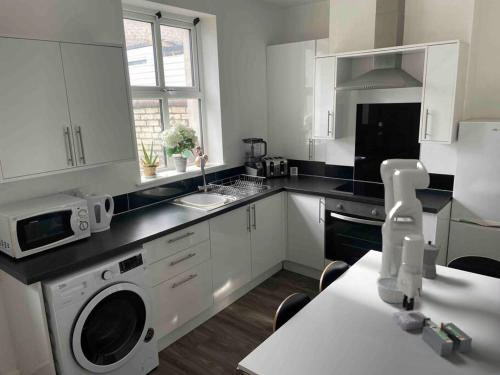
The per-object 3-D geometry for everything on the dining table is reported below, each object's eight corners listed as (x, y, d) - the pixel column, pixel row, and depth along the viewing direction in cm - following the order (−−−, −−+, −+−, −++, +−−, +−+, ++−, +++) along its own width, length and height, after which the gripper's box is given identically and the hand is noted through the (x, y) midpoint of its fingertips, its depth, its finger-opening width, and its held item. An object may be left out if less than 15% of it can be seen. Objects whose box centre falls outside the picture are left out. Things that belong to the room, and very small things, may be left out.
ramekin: (403, 290, 177) (404, 277, 176) (411, 306, 164) (413, 291, 163) (373, 289, 179) (374, 276, 177) (380, 304, 166) (381, 290, 164)
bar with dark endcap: (423, 325, 149) (424, 310, 147) (428, 324, 149) (430, 310, 148) (442, 342, 139) (443, 327, 137) (447, 341, 139) (449, 326, 138)
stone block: (389, 322, 156) (405, 332, 146) (389, 311, 156) (405, 319, 146) (414, 318, 159) (431, 327, 149) (413, 307, 159) (431, 315, 149)
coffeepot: (431, 269, 198) (435, 236, 194) (444, 277, 189) (448, 243, 185) (405, 272, 195) (408, 239, 191) (416, 280, 186) (420, 246, 182)
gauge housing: (422, 338, 142) (423, 326, 141) (450, 334, 145) (451, 321, 143) (440, 356, 133) (442, 342, 131) (470, 351, 135) (472, 337, 134)
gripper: (391, 259, 156) (388, 300, 160) (415, 276, 141) (411, 320, 145) (408, 257, 157) (404, 297, 162) (433, 274, 142) (428, 318, 147)
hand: (407, 308), depth 153 cm, fingers closed
